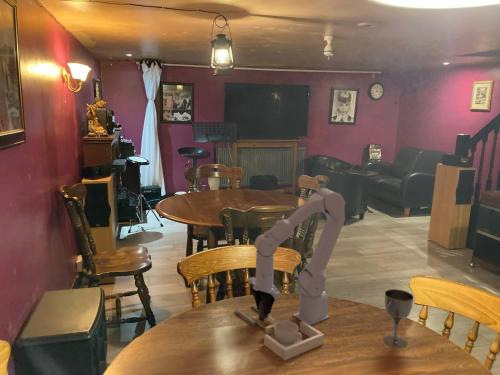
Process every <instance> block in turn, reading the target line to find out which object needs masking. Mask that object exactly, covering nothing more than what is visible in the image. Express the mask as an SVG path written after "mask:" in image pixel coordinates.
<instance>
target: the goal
mask: <svg viewBox="0 0 500 375" xmlns="http://www.w3.org/2000/svg"><path fill="white" fill-rule="evenodd" d="M299 332H300V333H303V334H304V335H306V336H308V337H307V338H306V339H304V340H303V339H302V341H301V342H299V343H296V344H294V345H291V346H289V347H286V348H285V347H284V346H282V345H281V344H280V343H278V342H277V341H276V340H274V339H273V338H272V337H270V334H268V335H267V334H266V333H265V334H264V337H263V338H264V339H263V340H264V341H263V342H264V343H263V344H264V346H265V347H266V348H267V349H269V350H271V351H272V352H273V353H275V354H276V355H277V356H279V358H281V359H282V360H284V361H287V360H289V359H291V358H294V357H296V356H299V355H301V354H303V353H305V352H308V351H310V350H312V349H315V348H317V347H319V346H321V345H324V344H325V343H324V342H325V333H322V332H321V331H319V330H318V329H316V328H315V327H313V326H311V325H308V324H307V323H305V322H303V321H301V320H300V322H299Z"/></svg>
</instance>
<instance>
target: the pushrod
mask: <svg viewBox="0 0 500 375" xmlns="http://www.w3.org/2000/svg"><path fill="white" fill-rule="evenodd" d="M251 319H253V320H254V321H256V325H258V326H260V327H261V328H262V329H264V333H265V335H266V334H267V335H271V334H273V333H274V324H275V323H276V322H277V321H276V319H274V318H271V317H270V316H269V314H267V315H265V314H264V311H263V302H262V301H260V302H259V312H258V314H257V315H253V316H251ZM282 321H291V322H294V321H293V319H292V318H291V317H288V318H287V319H284V320H283V319H282Z"/></svg>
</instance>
